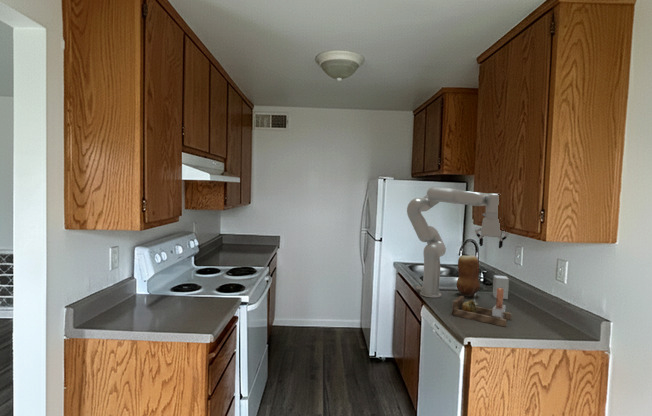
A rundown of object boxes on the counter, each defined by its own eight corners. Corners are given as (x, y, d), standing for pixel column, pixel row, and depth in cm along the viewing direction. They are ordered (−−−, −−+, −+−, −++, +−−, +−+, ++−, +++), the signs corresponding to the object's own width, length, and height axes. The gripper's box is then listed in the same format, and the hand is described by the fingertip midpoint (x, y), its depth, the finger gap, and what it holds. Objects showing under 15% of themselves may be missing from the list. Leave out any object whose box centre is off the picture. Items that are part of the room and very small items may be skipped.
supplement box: (505, 296, 232) (506, 276, 231) (507, 299, 225) (509, 278, 224) (492, 295, 234) (493, 274, 233) (494, 298, 227) (495, 277, 226)
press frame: (452, 314, 191) (452, 301, 191) (459, 308, 203) (460, 295, 202) (505, 326, 177) (506, 312, 177) (510, 319, 188) (511, 305, 188)
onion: (475, 312, 196) (476, 297, 196) (478, 317, 189) (479, 302, 188) (460, 311, 198) (460, 296, 198) (462, 316, 190) (463, 300, 190)
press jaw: (491, 320, 182) (493, 289, 182) (496, 315, 191) (498, 285, 190) (500, 322, 180) (502, 291, 179) (504, 316, 188) (506, 287, 188)
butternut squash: (456, 292, 238) (458, 252, 236) (479, 295, 232) (482, 254, 231) (455, 297, 225) (457, 255, 224) (479, 300, 220) (481, 258, 218)
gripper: (474, 214, 208) (472, 245, 209) (508, 217, 198) (506, 249, 199) (477, 214, 214) (475, 244, 215) (511, 217, 204) (509, 248, 205)
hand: (490, 246), depth 207 cm, fingers open, 9 cm apart
